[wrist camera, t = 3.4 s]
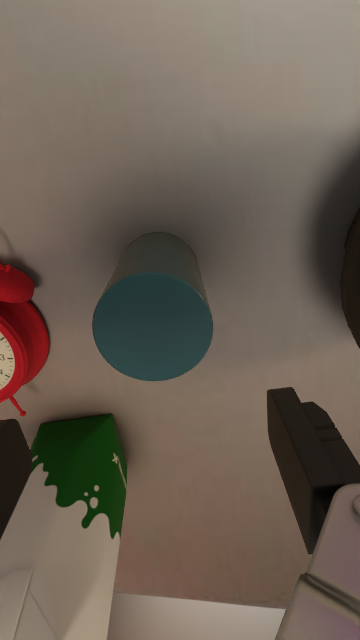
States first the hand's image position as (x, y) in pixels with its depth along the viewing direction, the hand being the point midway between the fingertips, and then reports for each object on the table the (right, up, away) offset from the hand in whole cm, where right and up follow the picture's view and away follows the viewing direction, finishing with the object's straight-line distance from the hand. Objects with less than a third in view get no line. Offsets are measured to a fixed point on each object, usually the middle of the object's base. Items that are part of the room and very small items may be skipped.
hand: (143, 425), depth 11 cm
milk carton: (-8, -9, +24) cm, 27 cm away
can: (0, +7, +17) cm, 18 cm away
